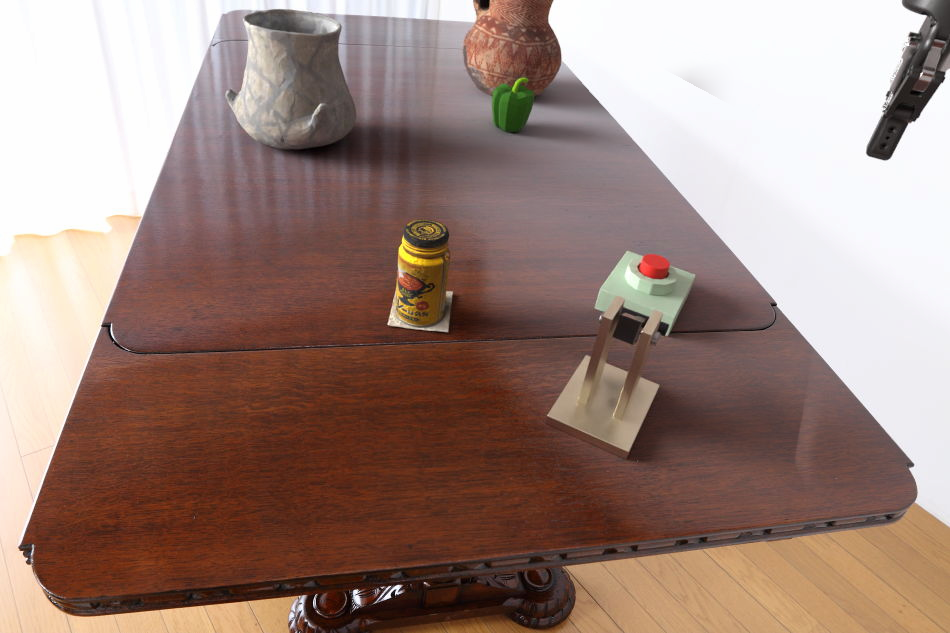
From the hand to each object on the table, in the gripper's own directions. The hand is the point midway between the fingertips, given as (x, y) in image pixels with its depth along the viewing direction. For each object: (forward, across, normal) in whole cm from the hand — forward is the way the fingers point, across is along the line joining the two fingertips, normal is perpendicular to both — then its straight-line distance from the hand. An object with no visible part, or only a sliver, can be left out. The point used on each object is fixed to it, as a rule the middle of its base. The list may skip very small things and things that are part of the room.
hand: (876, 155), depth 65 cm
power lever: (+21, -12, +15) cm, 29 cm away
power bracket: (+29, -16, +15) cm, 36 cm away
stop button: (+24, +7, +17) cm, 31 cm away
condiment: (+29, -13, +41) cm, 51 cm away
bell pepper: (+29, +51, +58) cm, 82 cm away
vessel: (+29, +17, +86) cm, 92 cm away
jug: (+29, +71, +69) cm, 103 cm away
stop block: (+29, +7, +17) cm, 34 cm away
